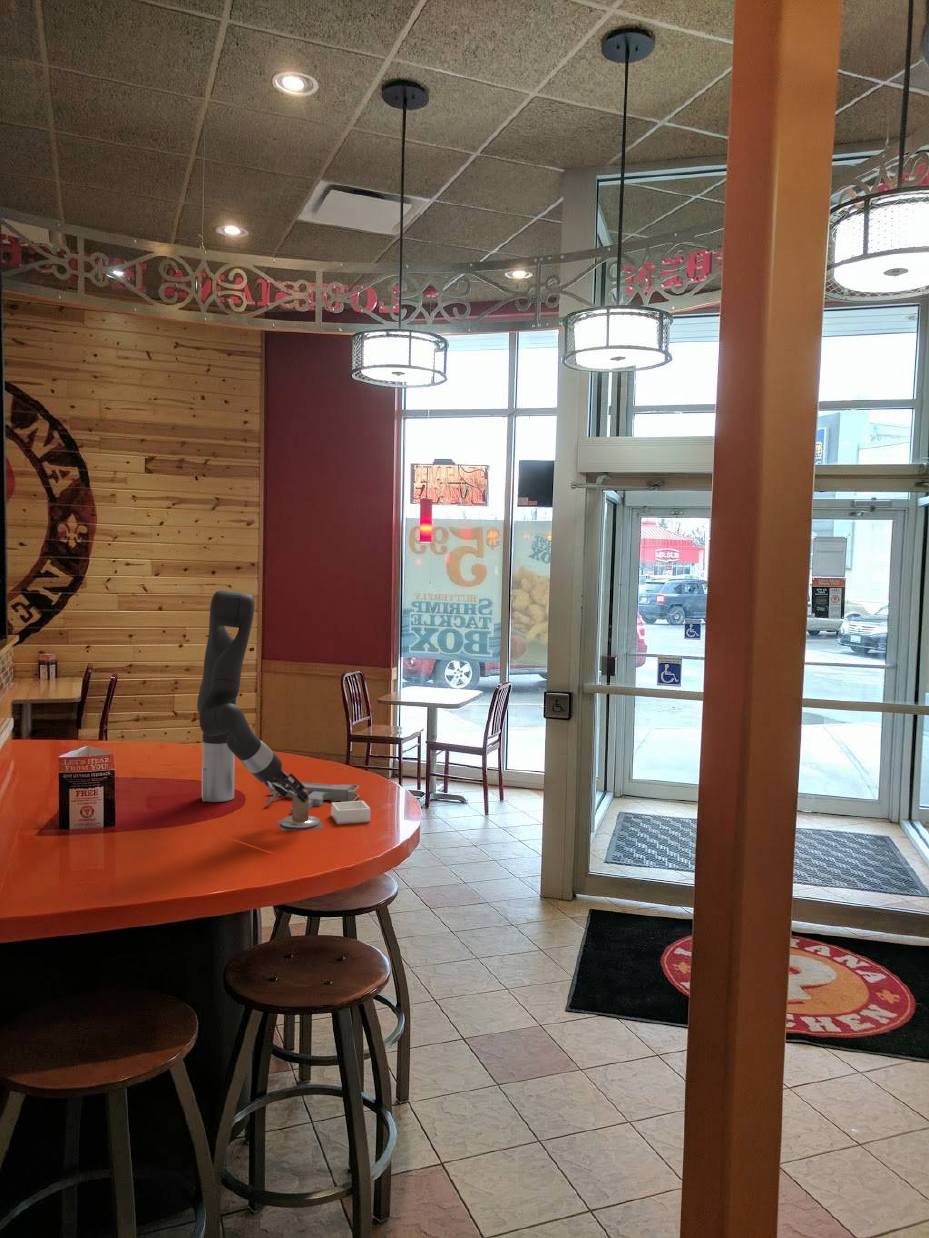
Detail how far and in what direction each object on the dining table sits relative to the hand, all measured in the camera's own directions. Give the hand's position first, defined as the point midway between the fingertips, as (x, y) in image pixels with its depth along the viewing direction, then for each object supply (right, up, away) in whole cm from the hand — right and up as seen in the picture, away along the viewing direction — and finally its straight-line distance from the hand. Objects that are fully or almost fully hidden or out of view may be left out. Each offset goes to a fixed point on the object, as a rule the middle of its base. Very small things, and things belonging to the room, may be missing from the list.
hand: (295, 797), depth 238 cm
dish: (+14, -8, +8) cm, 18 cm away
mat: (+1, -8, +2) cm, 8 cm away
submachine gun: (-3, -7, +25) cm, 26 cm away
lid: (+1, -7, +2) cm, 8 cm away
